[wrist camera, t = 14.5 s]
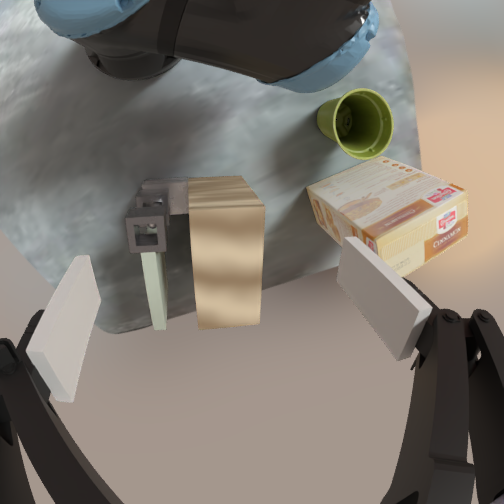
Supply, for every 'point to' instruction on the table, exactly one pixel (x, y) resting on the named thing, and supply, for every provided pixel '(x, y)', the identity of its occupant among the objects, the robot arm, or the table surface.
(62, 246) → the table surface
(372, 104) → the plant pot
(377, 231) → the coffeecake box
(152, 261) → the square frame paddle
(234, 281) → the cabinet
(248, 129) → the table surface
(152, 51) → the robot arm
